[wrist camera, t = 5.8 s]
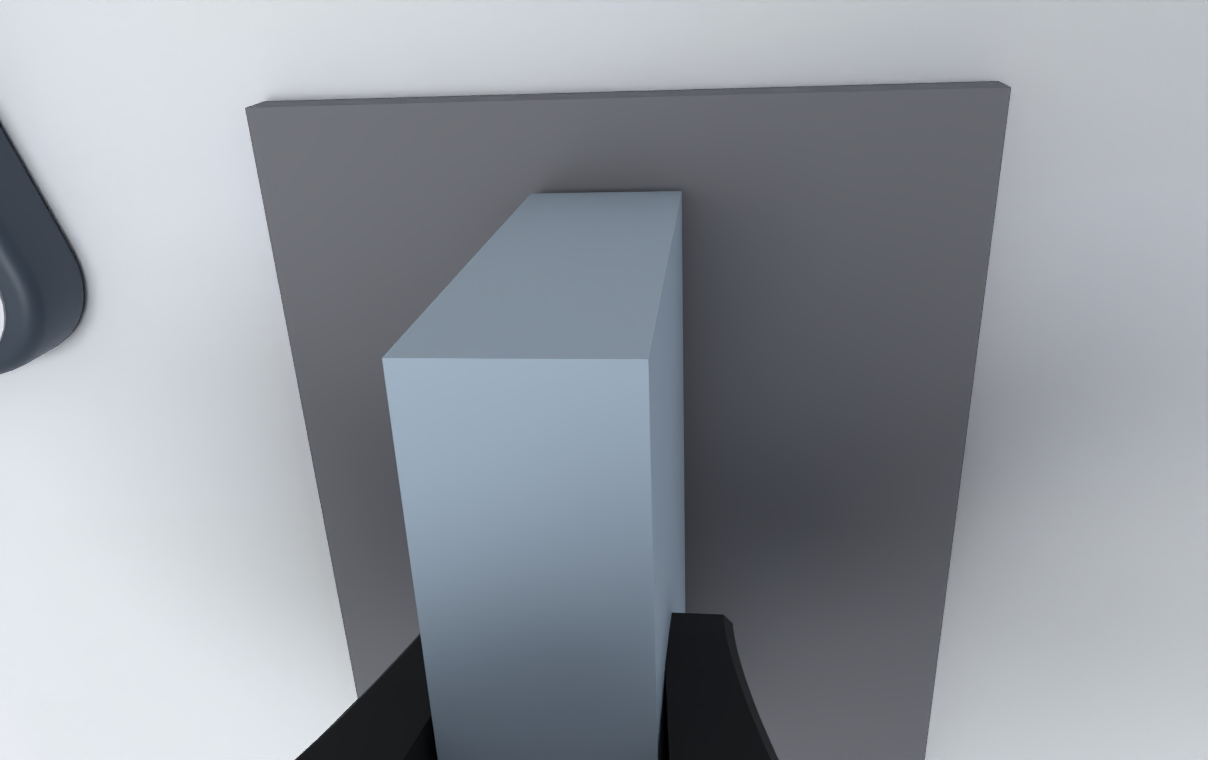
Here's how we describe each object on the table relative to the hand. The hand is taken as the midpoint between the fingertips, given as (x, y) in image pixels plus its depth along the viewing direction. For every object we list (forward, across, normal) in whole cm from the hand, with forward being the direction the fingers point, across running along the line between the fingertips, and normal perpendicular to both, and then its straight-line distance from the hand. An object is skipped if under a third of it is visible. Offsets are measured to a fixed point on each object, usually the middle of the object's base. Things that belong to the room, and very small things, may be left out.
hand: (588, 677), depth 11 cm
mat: (+5, 0, 0) cm, 5 cm away
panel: (+4, 0, 0) cm, 4 cm away
